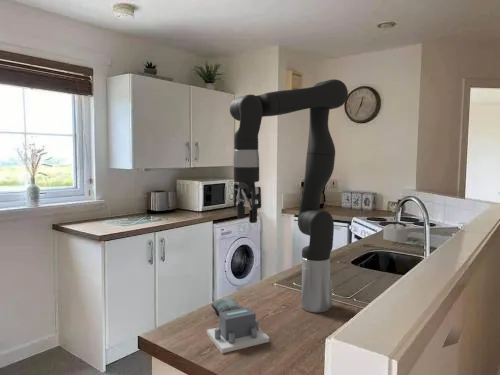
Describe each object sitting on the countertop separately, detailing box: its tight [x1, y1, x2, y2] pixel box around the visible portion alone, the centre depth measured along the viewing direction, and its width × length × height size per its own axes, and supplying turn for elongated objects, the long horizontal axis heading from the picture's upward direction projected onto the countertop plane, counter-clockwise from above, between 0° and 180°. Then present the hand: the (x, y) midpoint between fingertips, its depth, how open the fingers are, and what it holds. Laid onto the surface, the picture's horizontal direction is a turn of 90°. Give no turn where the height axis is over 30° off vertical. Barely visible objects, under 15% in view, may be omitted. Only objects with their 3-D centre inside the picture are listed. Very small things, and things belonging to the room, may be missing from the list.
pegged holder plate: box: [206, 319, 270, 354], centre depth 109 cm, size 14×12×4 cm
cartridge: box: [218, 307, 257, 341], centre depth 109 cm, size 9×5×6 cm, turn 115°
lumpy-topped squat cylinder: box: [382, 223, 409, 242], centre depth 228 cm, size 10×13×9 cm
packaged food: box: [211, 296, 244, 316], centre depth 124 cm, size 9×12×5 cm
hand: (246, 220), depth 114 cm, fingers open, 8 cm apart
